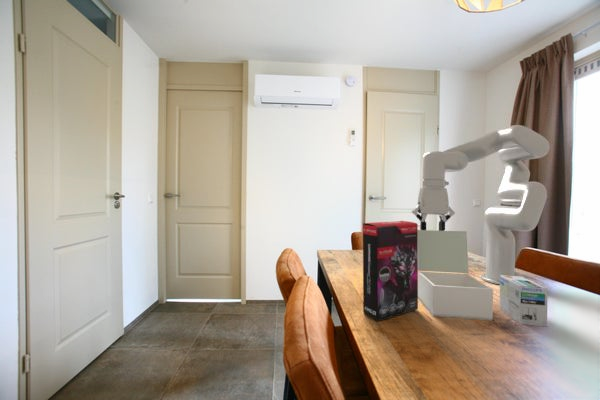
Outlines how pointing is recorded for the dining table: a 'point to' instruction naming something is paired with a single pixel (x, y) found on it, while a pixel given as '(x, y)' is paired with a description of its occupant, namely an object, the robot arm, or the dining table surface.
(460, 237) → the lid
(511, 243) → the robot arm
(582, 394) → the dining table surface
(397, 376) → the dining table surface
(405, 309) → the graphics card box
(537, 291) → the light bulb box
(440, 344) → the dining table surface
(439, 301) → the carton
